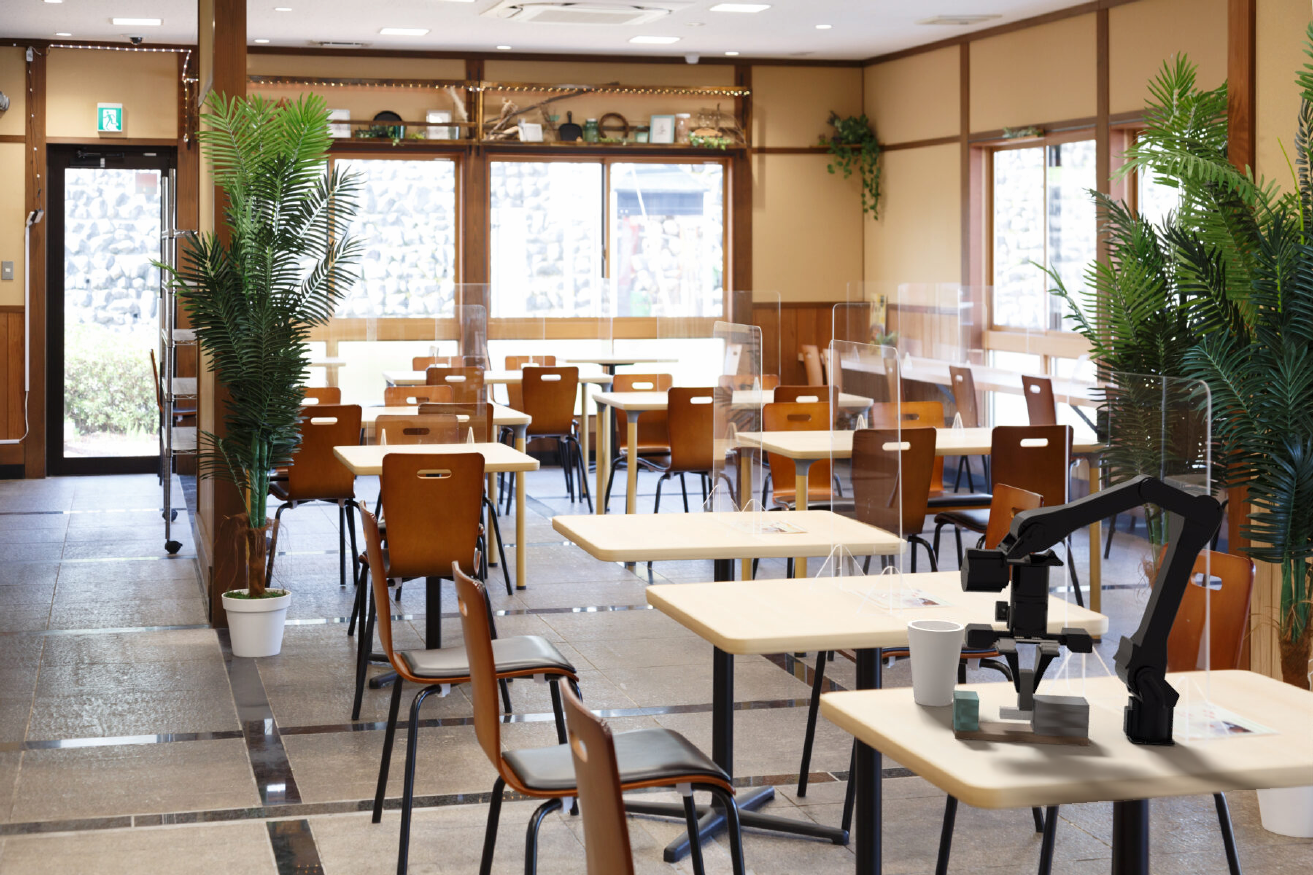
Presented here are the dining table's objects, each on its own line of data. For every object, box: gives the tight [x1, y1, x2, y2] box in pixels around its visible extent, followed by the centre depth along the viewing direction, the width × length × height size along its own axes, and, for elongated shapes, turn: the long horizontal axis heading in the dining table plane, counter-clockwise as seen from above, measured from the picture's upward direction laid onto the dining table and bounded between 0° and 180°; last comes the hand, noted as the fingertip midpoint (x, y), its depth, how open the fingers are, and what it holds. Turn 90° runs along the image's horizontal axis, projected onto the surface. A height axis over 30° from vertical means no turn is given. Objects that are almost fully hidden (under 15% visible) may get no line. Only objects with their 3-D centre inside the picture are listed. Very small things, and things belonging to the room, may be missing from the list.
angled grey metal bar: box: [998, 668, 1034, 721], centre depth 221 cm, size 13×2×8 cm, turn 83°
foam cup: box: [906, 619, 965, 707], centre depth 241 cm, size 10×9×13 cm
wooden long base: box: [951, 689, 1090, 747], centre depth 222 cm, size 20×7×6 cm, turn 83°
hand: (1025, 692), depth 222 cm, fingers closed on angled grey metal bar, 2 cm apart
